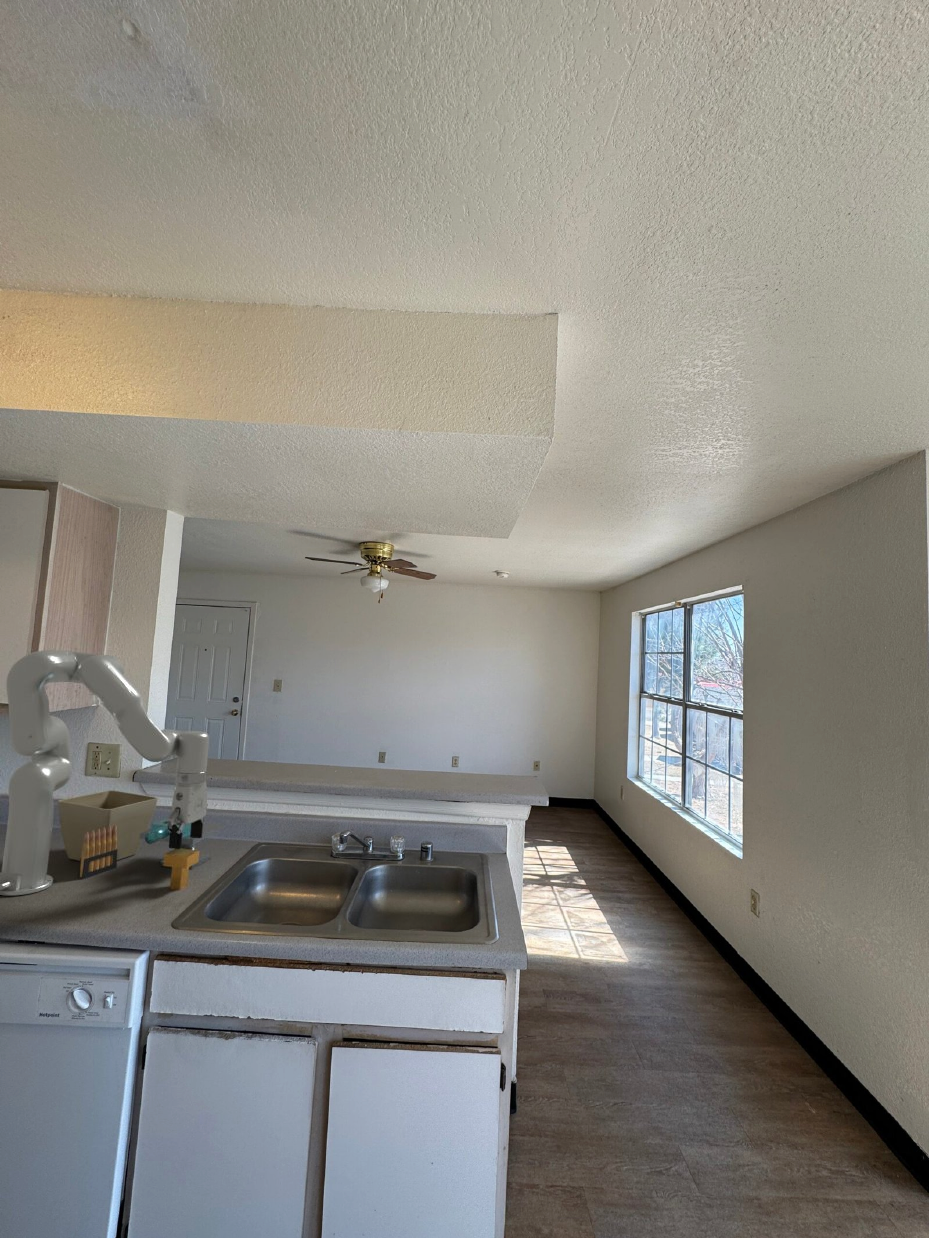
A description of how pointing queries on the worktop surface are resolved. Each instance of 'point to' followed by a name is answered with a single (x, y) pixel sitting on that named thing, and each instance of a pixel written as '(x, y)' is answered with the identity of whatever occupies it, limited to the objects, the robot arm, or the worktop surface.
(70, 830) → the flower pot
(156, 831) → the teal meat grinder
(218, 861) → the worktop surface
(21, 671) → the robot arm
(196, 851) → the tan t-shaped peg
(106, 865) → the ammunition clip
